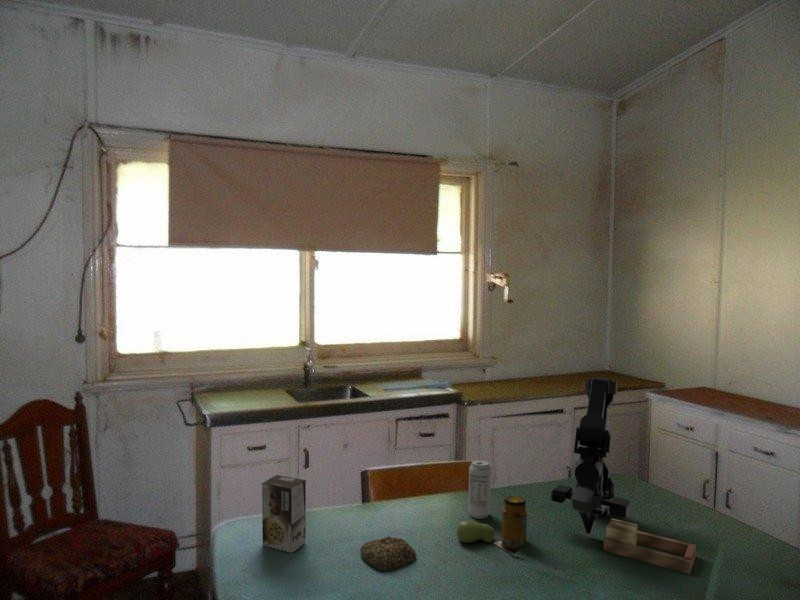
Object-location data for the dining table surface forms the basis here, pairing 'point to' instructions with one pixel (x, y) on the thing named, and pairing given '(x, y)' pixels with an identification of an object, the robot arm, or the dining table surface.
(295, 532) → the coffee box
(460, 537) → the pear
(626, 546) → the bay
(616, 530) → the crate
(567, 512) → the dining table surface
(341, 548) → the dining table surface
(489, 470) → the energy drink can
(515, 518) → the condiment
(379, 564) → the bread roll
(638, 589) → the dining table surface
